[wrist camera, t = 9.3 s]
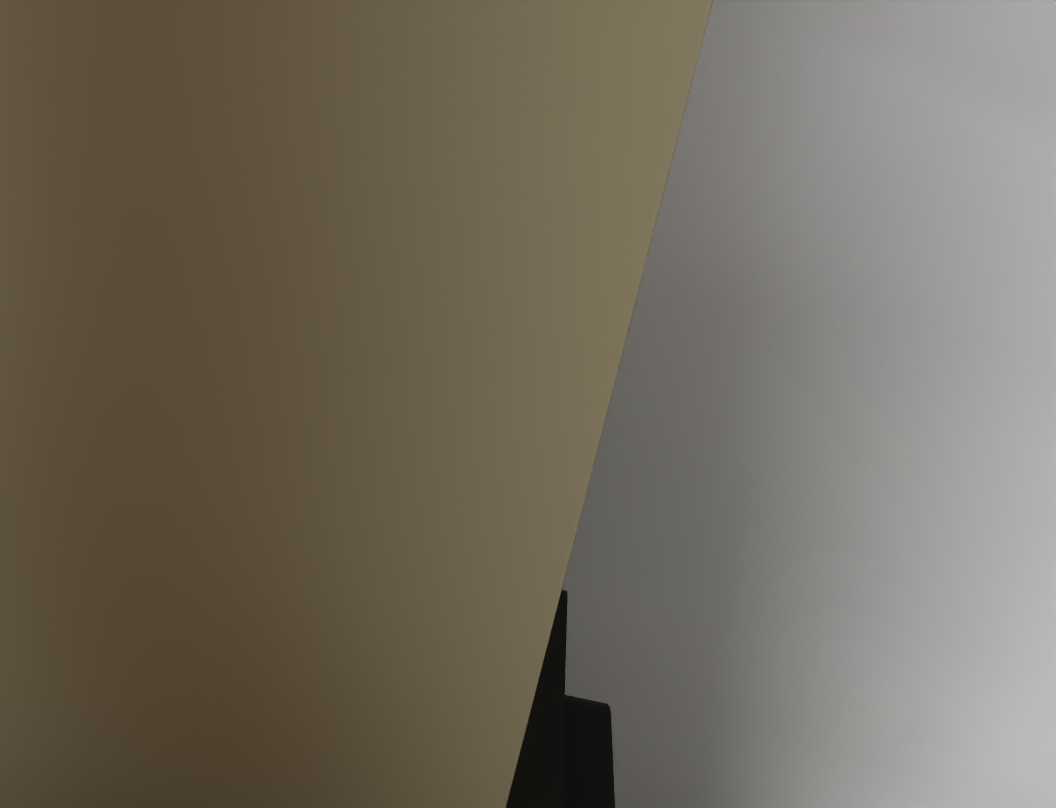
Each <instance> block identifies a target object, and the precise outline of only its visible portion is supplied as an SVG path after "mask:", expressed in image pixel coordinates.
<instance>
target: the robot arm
mask: <svg viewBox="0 0 1056 808" xmlns="http://www.w3.org/2000/svg"><path fill="white" fill-rule="evenodd" d="M566 625H567V591H564V590H561V594H560V598H559V602H558V606H557V609H556V613H555V617H554V621H553V625H552V629H551V633H550V637H549V641H548V644H547V648H546V652H545V656H544V660H543V664H542V668H541V672H540V676H539V679H538V683H537V687H536V691H535V695H534V699H533V703H532V707H531V711H530V715H529V718H528V722H527V726H526V730H525V734H524V738H523V742H522V746H521V750H520V753H519V757H518V761H517V765H516V769H515V773H514V777H513V781H512V785H511V789H510V792H509V796H508V800H507V804H506V808H615V798H614V775H613V752H612V729H611V712H610V707H609V705H608V704H605V703H601V702H596V701H591V700H586V699H582V698H577V697H572V696H567V695H565V660H566Z"/></svg>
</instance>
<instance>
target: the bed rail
mask: <svg viewBox="0 0 1056 808" xmlns="http://www.w3.org/2000/svg"><path fill="white" fill-rule="evenodd" d="M712 2H713V0H0V808H506V804H507V800H508V796H509V792H510V789H511V785H512V781H513V777H514V773H515V769H516V765H517V761H518V757H519V753H520V750H521V746H522V742H523V738H524V734H525V730H526V726H527V722H528V718H529V715H530V711H531V707H532V703H533V699H534V695H535V691H536V687H537V683H538V679H539V676H540V672H541V668H542V664H543V660H544V656H545V652H546V648H547V644H548V641H549V637H550V633H551V629H552V625H553V621H554V617H555V613H556V609H557V606H558V602H559V598H560V594H561V590H562V586H563V582H564V578H565V574H566V570H567V567H568V563H569V559H570V555H571V551H572V547H573V543H574V539H575V535H576V532H577V528H578V524H579V520H580V516H581V512H582V508H583V504H584V500H585V496H586V493H587V489H588V485H589V481H590V477H591V473H592V469H593V465H594V461H595V458H596V454H597V450H598V446H599V442H600V438H601V434H602V430H603V426H604V422H605V419H606V415H607V411H608V407H609V403H610V399H611V395H612V391H613V387H614V384H615V380H616V376H617V372H618V368H619V364H620V360H621V356H622V352H623V348H624V345H625V341H626V337H627V333H628V329H629V325H630V321H631V317H632V313H633V310H634V306H635V302H636V298H637V294H638V290H639V286H640V282H641V278H642V275H643V271H644V267H645V263H646V259H647V255H648V251H649V247H650V243H651V239H652V236H653V232H654V228H655V224H656V220H657V216H658V212H659V208H660V204H661V201H662V197H663V193H664V189H665V185H666V181H667V177H668V173H669V169H670V165H671V162H672V158H673V154H674V150H675V146H676V142H677V138H678V134H679V130H680V127H681V123H682V119H683V115H684V111H685V107H686V103H687V99H688V95H689V91H690V88H691V84H692V80H693V76H694V72H695V68H696V64H697V60H698V56H699V53H700V49H701V45H702V41H703V37H704V33H705V29H706V25H707V21H708V17H709V14H710V10H711V6H712Z"/></svg>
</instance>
